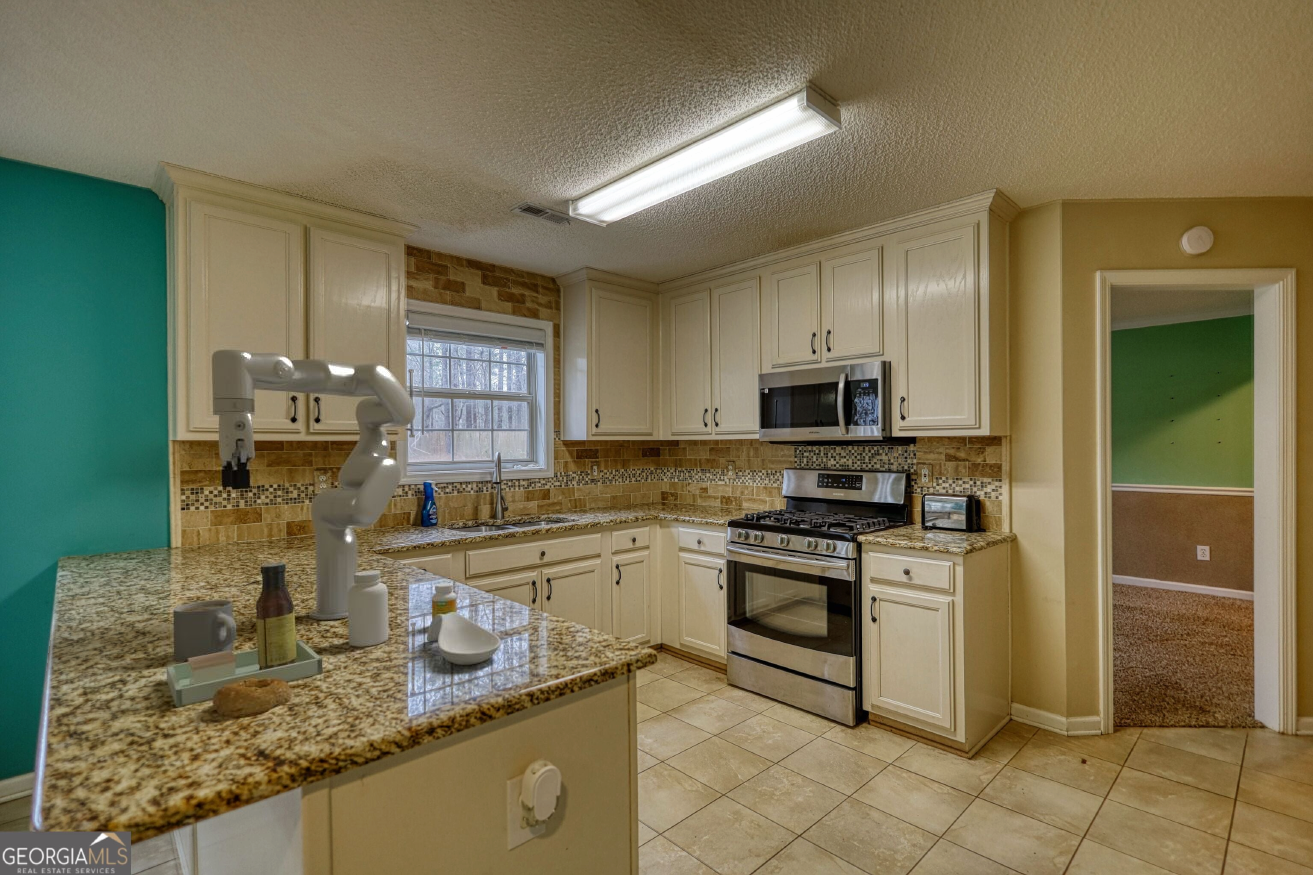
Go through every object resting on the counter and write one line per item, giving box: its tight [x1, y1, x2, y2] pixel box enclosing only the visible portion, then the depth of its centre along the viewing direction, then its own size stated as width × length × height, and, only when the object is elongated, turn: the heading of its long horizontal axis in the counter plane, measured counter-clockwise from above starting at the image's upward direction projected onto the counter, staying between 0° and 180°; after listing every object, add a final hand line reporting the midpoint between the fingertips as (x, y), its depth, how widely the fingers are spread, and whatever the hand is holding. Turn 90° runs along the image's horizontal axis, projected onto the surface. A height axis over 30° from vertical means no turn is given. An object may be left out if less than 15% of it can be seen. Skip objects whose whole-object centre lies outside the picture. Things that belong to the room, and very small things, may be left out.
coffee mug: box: [173, 599, 237, 662], centre depth 131 cm, size 13×10×10 cm
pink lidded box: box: [187, 650, 237, 686], centre depth 113 cm, size 6×6×5 cm
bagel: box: [211, 678, 293, 719], centre depth 104 cm, size 10×11×5 cm
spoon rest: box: [426, 611, 502, 666], centre depth 130 cm, size 24×12×7 cm, turn 40°
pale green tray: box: [166, 639, 323, 708], centre depth 116 cm, size 22×16×3 cm
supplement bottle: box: [431, 582, 457, 621], centre depth 150 cm, size 5×5×10 cm
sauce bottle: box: [255, 562, 297, 671], centre depth 120 cm, size 6×6×20 cm
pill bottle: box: [347, 569, 389, 648], centre depth 138 cm, size 8×8×15 cm
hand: (235, 487), depth 137 cm, fingers open, 9 cm apart
